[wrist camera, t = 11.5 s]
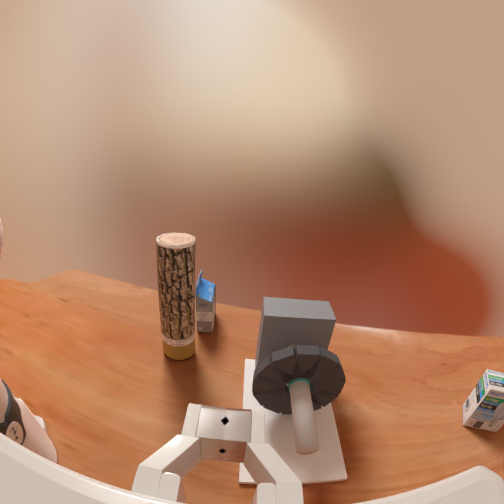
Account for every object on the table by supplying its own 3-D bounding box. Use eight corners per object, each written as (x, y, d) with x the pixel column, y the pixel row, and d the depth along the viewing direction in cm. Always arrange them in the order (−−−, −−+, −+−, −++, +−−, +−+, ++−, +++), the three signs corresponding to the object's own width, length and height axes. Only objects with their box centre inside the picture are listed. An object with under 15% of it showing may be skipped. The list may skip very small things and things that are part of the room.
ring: (249, 412, 43) (258, 351, 38) (249, 403, 45) (258, 342, 39) (330, 413, 43) (356, 354, 38) (329, 405, 45) (352, 346, 40)
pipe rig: (238, 483, 31) (248, 429, 26) (245, 361, 57) (252, 295, 52) (345, 480, 32) (389, 423, 26) (320, 365, 58) (338, 302, 52)
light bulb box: (462, 426, 38) (489, 389, 34) (461, 404, 43) (485, 367, 39) (498, 432, 33) (526, 396, 29) (495, 411, 39) (520, 376, 35)
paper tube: (201, 354, 58) (203, 241, 49) (174, 366, 54) (167, 248, 45) (184, 337, 63) (182, 230, 54) (157, 347, 58) (149, 236, 49)
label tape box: (212, 333, 65) (214, 287, 61) (195, 331, 65) (195, 285, 61) (215, 312, 74) (217, 269, 69) (199, 311, 73) (200, 268, 69)
